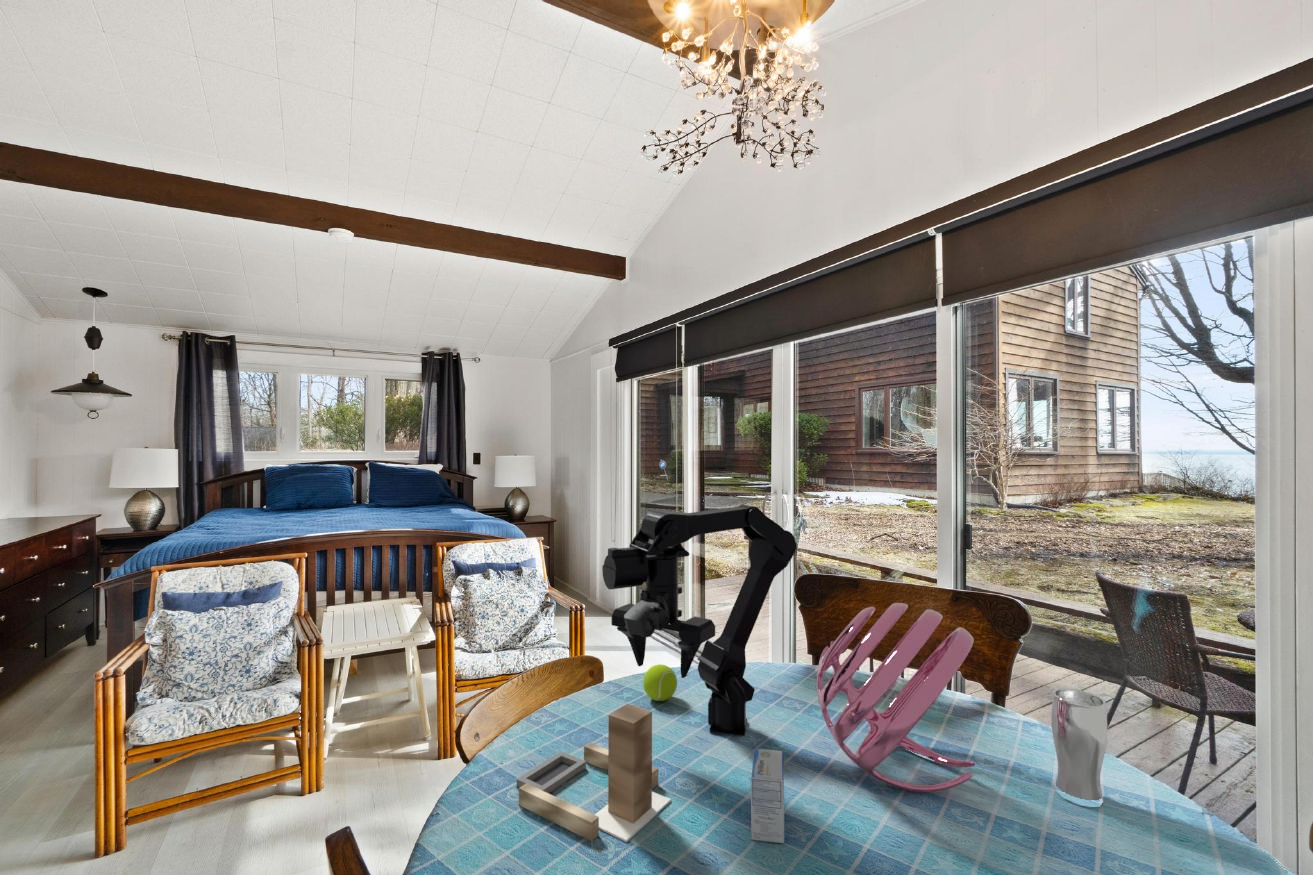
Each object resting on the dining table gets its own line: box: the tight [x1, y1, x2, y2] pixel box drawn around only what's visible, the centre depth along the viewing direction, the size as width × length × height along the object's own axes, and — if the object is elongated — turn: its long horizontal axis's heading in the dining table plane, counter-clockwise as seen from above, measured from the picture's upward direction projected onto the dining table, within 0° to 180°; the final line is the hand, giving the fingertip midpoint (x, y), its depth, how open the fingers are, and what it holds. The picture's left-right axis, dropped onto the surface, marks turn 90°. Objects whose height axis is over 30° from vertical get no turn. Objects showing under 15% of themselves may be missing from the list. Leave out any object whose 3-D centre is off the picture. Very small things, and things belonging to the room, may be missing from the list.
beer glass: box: [1051, 687, 1108, 800], centre depth 91 cm, size 7×7×15 cm
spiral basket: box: [816, 602, 976, 793], centre depth 98 cm, size 28×28×27 cm
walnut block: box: [607, 703, 653, 824], centre depth 87 cm, size 4×4×14 cm
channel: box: [518, 742, 659, 842], centre depth 91 cm, size 14×16×2 cm
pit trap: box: [516, 751, 587, 794], centre depth 95 cm, size 6×10×1 cm, turn 146°
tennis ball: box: [642, 664, 678, 702], centre depth 124 cm, size 7×7×7 cm
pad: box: [594, 791, 672, 843], centre depth 86 cm, size 7×11×1 cm, turn 146°
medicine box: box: [750, 748, 785, 844], centre depth 84 cm, size 8×4×9 cm, turn 168°
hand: (661, 671), depth 105 cm, fingers open, 9 cm apart
